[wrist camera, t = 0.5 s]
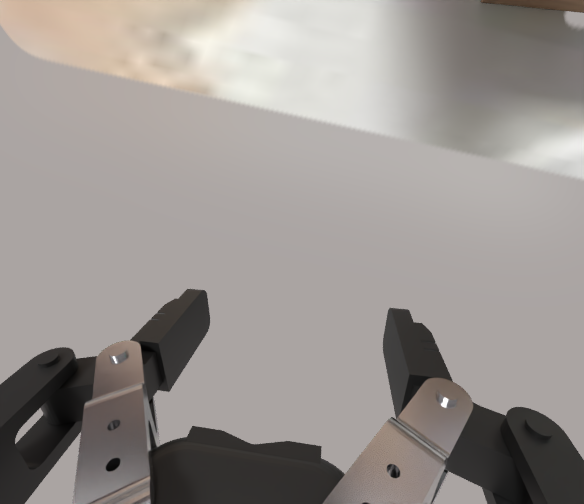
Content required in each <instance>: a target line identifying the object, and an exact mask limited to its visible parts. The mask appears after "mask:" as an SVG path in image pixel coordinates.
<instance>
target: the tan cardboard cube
mask: <svg viewBox="0 0 584 504" xmlns="http://www.w3.org/2000/svg"><path fill="white" fill-rule="evenodd" d="M481 2H483V3H493V4H503V5H513V6H523V7H532V8H542V9H552V10H562V11H573V12H583V13H584V0H481Z"/></svg>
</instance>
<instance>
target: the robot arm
mask: <svg viewBox="0 0 584 504" xmlns="http://www.w3.org/2000/svg"><path fill="white" fill-rule="evenodd" d="M209 325H210V315H209V307H208V299H207V293H206V291H205V290H195V289H187V290H186V291H185V292H184V293H183V294H182V296H180V298H179V299H174V300H172V301H170V302H169V303H167V304H165V305H164V306H163V307H162V308H161V309H160V310H159V311H158V313H157V314H155V315H154V316H153V317H152V319H151V320H149V321H148V322H147V323H146V325H144V326H143V327H142V328H141V330H140V331H139V332H138V333H137V334H136V335H135V336H134V337H133V338H132V339H131V340H130V341H121V342H118V343H115V344H112V345H110V346H108V347H107V348H105V349H104V350H103V351H102V352H101V353H100V354H99V355H98V356H95V357H87V358H79V359H76V357H75V354H74V352H73V350H72V349H70V348H55V349H51V350H48V351H46V352H43V353H41V354H39V355H37V356H36V357H34V358H33V359H32V360H30V361H29V362H28V363H27V364H25V365H24V366H23V367H21V368H20V369H19V370H18V371H17V372H15V373H14V374H13V375H12V376H10V377H9V378H8V379H7V380H5V381H4V382H3V383H2V384H1V385H0V504H25V502H26V501H27V500H28V498H29V497H30V496H31V495H32V493H33V492H34V491H35V489H36V488H37V487H38V486H39V484H40V483H41V482H42V480H43V479H44V478H45V477H46V475H47V474H48V473H49V472H50V470H51V469H52V468H53V466H54V465H55V464H56V463H57V461H58V460H59V459H60V457H61V456H62V455H63V453H64V452H65V451H66V450H67V449H68V447H69V446H70V445H71V443H72V442H73V441H74V440H75V438H76V437H77V436H78V434H79V433H80V432H81V437H80V446H79V454H78V462H77V470H76V479H75V487H74V496H73V504H434V502H435V499H436V497H437V495H438V493H439V491H440V489H441V487H442V485H443V483H444V481H445V479H446V477H447V475H448V473H449V472H451V473H453V474H456V475H458V476H460V477H462V478H464V479H466V480H468V481H470V482H472V483H474V484H477V485H479V486H481V487H482V489H483V492H484V495H485V498H486V500H487V504H584V460H583V459H582V457H581V456H580V454H579V453H578V451H577V450H576V448H575V447H574V445H573V444H572V442H571V441H570V439H569V438H568V436H567V435H566V433H565V432H564V431H563V430H562V429H561V428H560V427H559V426H558V425H557V424H556V423H555V422H554V421H552V420H551V419H549V418H548V417H546V416H545V415H543V414H541V413H539V412H537V411H534V410H531V409H529V408H524V407H515V408H512V409H510V410H509V411H508V412H507V415H506V416H505V415H502V414H500V413H497V412H494V411H492V410H489V409H486V408H484V407H481V406H479V405H477V404H475V403H473V402H472V400H471V398H470V396H469V395H468V393H467V392H466V391H465V390H464V389H463V388H461V387H460V386H459V385H457V384H456V383H454V382H453V381H452V379H451V377H450V374H449V372H448V370H447V367H446V365H445V363H444V360H443V358H442V356H441V354H440V352H439V349H438V347H437V345H436V344H435V340H434V338H433V335H432V333H431V332H430V331H429V330H428V329H427V328H426V327H425V326H424V325H423V324H422V323H414V322H413V319H412V317H411V314H410V312H409V310H406V309H395V308H390V309H389V310H388V315H387V320H386V326H385V332H384V338H383V353H384V358H385V363H386V369H387V373H388V379H389V384H390V389H391V395H392V400H393V405H394V410H395V415H396V419H394V418H393V417H391V418H390V419H388V421H387V422H386V423H385V424H384V425H383V427H382V428H381V429H380V431H379V432H378V433H377V434H376V436H375V437H374V438H373V439H372V441H371V442H370V443H369V445H368V446H367V447H366V448H365V450H364V451H363V452H362V453H361V455H360V456H359V457H358V459H357V460H356V461H355V462H354V464H353V465H352V466H351V468H350V469H349V470H348V471H347V473H346V474H344V473H343V472H342V471H341V470H339V469H338V468H337V467H336V466H334V465H333V464H331V463H329V462H328V461H326V460H324V459H321V446H316V445H309V444H303V443H296V442H290V441H285V442H275V443H266V444H255V445H254V444H250V443H247V442H245V441H243V440H241V439H239V438H237V437H235V436H233V435H231V434H228V433H226V432H224V431H221V430H215V429H209V428H202V427H195V426H192V428H191V430H190V432H189V434H188V436H187V437H185V438H180V439H176V440H172V441H170V442H167V443H165V444H163V445H160V440H159V432H158V425H157V417H156V409H155V401H154V397H153V396H154V394H155V393H156V392H157V390H161V391H168V392H169V391H170V390H171V388H172V386H173V385H174V383H175V382H176V380H177V379H178V377H179V375H180V374H181V372H182V371H183V369H184V368H185V366H186V365H187V363H188V362H189V360H190V358H191V357H192V355H193V354H194V352H195V350H196V349H197V347H198V346H199V344H200V343H201V341H202V340H203V338H204V337H205V335H206V333H207V332H208V329H209ZM40 407H41V410H42V411H43V414H44V415H43V416H42V417H41V418H40V419H39V420H38V421H37V422H36V424H34V425H33V426H32V428H31V429H30V430H29V431H28V432H27V433H26V434H25V435H24V436H23V437H22V438H21V439H20V440H19V441H18V442H17V443H16V444H15V438H16V435H17V433H18V431H19V429H20V428H21V427H22V426H23V424H25V423H26V422H27V420H28V419H29V418H30V417H31V416H32V415H33V414H34V413H35V412H36V411H37V410H38V409H39V408H40Z"/></svg>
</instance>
